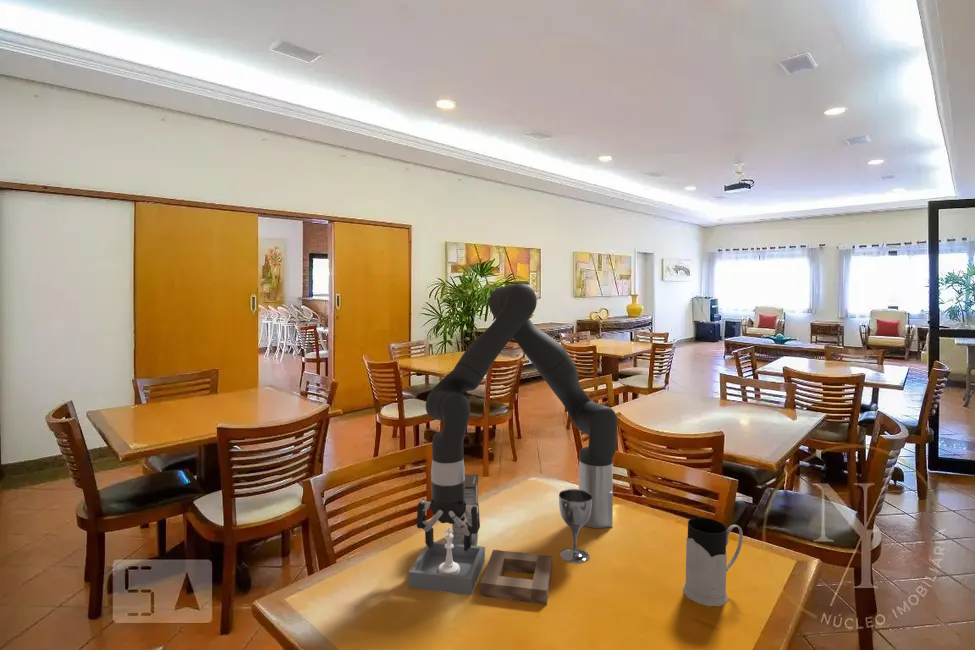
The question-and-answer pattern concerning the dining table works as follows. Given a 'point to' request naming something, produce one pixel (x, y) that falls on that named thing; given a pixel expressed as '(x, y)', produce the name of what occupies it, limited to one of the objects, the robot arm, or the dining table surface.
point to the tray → (430, 579)
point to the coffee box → (470, 499)
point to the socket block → (516, 587)
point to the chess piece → (449, 557)
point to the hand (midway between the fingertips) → (448, 547)
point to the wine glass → (575, 520)
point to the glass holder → (708, 561)
